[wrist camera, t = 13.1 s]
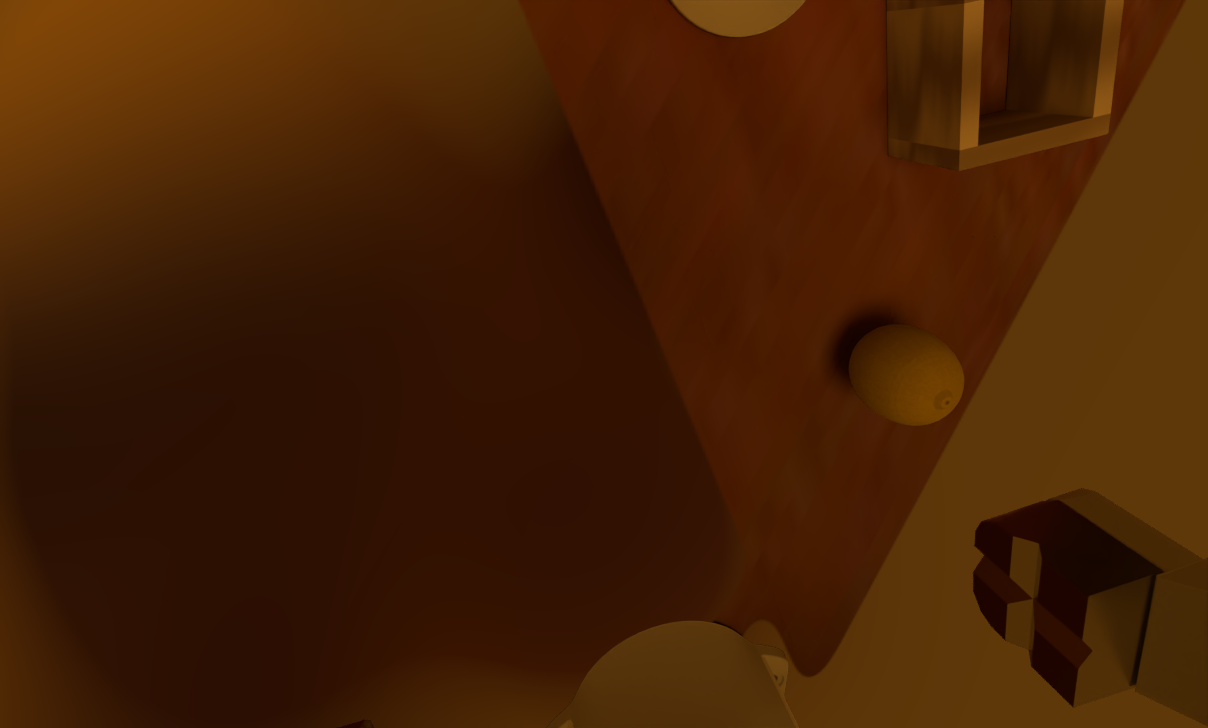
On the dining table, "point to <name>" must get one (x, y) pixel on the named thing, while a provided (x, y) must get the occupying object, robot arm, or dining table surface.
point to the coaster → (736, 15)
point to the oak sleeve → (1034, 87)
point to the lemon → (906, 374)
